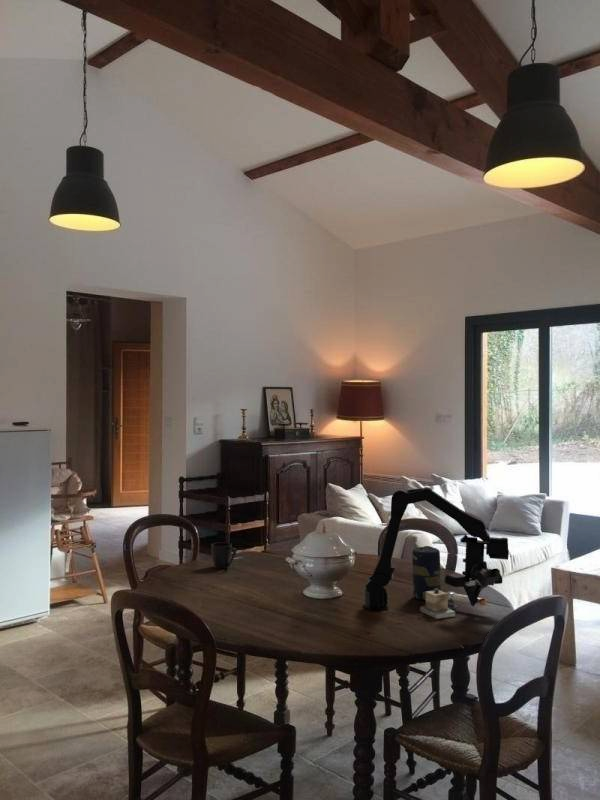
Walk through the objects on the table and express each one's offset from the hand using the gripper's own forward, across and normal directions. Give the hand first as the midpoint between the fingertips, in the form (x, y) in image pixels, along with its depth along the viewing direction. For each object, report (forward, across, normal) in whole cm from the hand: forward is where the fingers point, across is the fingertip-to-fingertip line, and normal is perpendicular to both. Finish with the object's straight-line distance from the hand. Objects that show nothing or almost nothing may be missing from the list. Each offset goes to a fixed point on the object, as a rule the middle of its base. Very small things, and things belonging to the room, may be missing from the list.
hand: (472, 605), depth 224 cm
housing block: (+1, -10, +5) cm, 12 cm away
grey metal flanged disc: (+3, -2, +9) cm, 9 cm away
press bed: (+3, -10, +5) cm, 11 cm away
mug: (+6, -54, +90) cm, 105 cm away
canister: (+3, -3, +21) cm, 22 cm away
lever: (0, 0, +4) cm, 4 cm away
